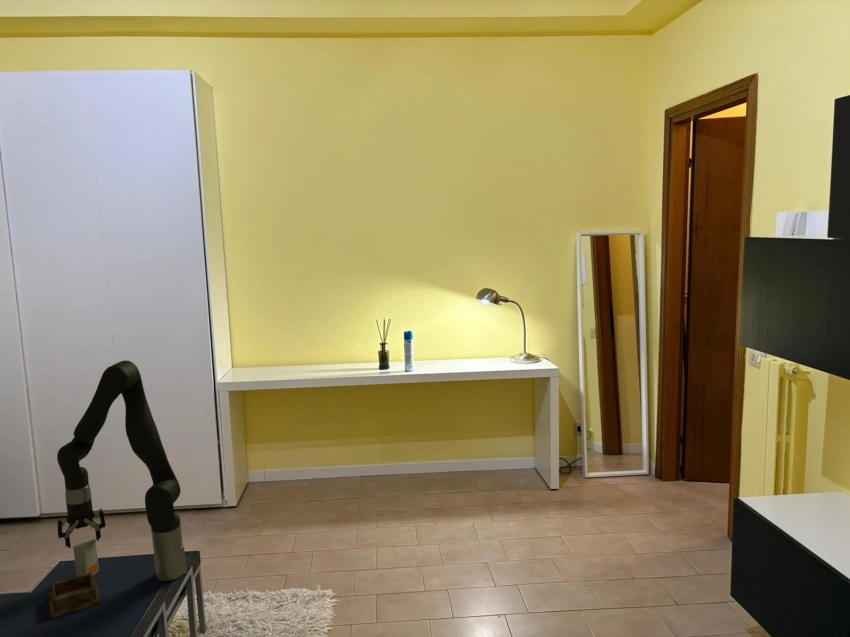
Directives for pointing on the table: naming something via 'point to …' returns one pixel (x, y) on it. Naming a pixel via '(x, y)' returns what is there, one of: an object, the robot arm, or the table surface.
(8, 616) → the table surface
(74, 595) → the walnut stand
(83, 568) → the skincare box
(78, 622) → the table surface
